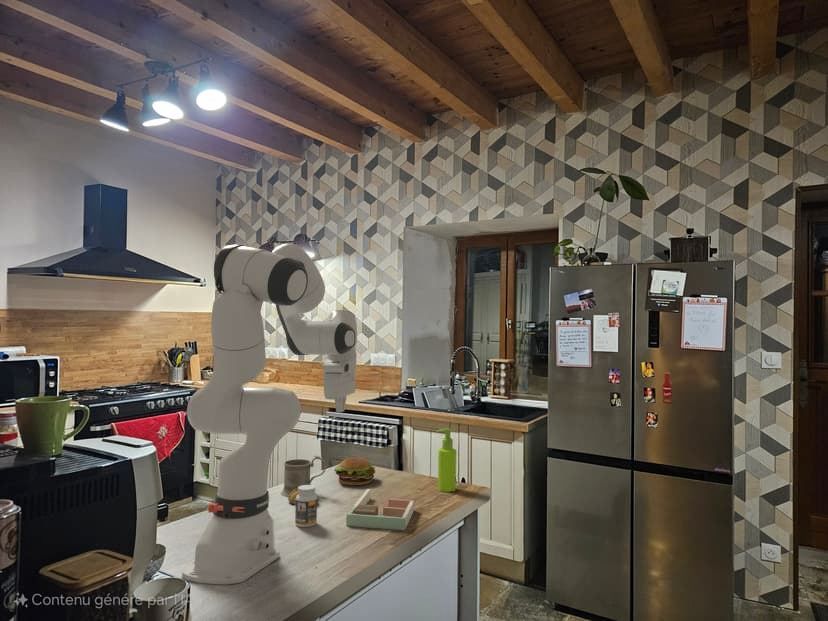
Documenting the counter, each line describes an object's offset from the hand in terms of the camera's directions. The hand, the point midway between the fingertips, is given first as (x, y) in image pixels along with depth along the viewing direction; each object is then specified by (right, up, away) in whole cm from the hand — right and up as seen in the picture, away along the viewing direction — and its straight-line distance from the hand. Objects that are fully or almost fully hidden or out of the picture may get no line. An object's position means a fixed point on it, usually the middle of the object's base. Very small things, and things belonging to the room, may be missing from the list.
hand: (340, 411), depth 167 cm
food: (+1, -29, +27) cm, 40 cm away
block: (+9, -28, -13) cm, 32 cm away
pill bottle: (-7, -28, -15) cm, 33 cm away
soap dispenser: (+32, -30, +19) cm, 48 cm away
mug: (-13, -28, +12) cm, 33 cm away
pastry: (-12, -28, +3) cm, 31 cm away
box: (+13, -28, -5) cm, 32 cm away
